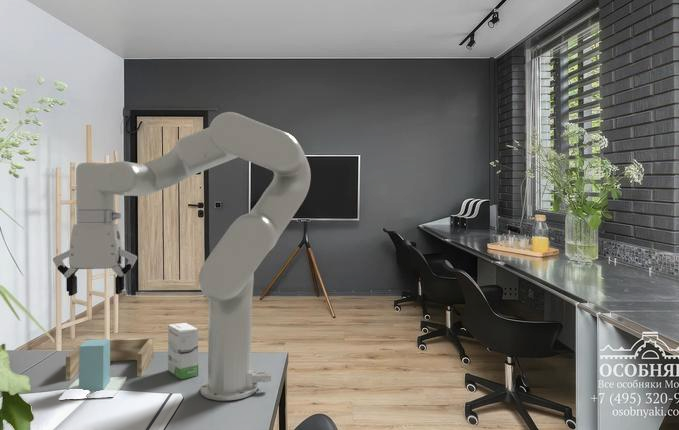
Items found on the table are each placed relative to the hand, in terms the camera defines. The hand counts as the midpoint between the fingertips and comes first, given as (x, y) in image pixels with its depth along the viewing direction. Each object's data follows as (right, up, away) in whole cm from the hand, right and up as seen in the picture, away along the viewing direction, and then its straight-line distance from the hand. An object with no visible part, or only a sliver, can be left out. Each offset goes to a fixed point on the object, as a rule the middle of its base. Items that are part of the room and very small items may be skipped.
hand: (96, 294), depth 107 cm
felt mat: (-1, -22, 0) cm, 22 cm away
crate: (-3, -21, +14) cm, 26 cm away
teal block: (0, -21, 0) cm, 21 cm away
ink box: (+16, -22, +12) cm, 29 cm away
